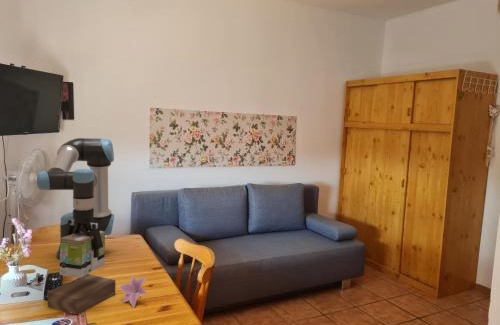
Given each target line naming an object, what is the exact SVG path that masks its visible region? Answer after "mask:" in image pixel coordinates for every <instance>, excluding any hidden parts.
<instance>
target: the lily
mask: <svg viewBox="0 0 500 325" xmlns="http://www.w3.org/2000/svg"><path fill="white" fill-rule="evenodd" d="M146 278H147V277H146V276H142V277H141V278H139V279H137V278H136V276H134V275H132V277H131V279H130V283H125V284H122V285H120V286H119V288H120V290H121V292H123V294H125V295H124V297H123V300H122V303H123V304H124V303H126V302H128V301H129V303H130V305H131V306H132V308H135V307H136V305H137V301H138V297H140V298H142V296H144V295H147V292H146V290H144V289H143V288H142V287H143V285H144V284H145V281H146Z"/></svg>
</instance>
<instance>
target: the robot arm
mask: <svg viewBox="0 0 500 325" xmlns="http://www.w3.org/2000/svg"><path fill="white" fill-rule="evenodd" d="M114 160H115V153H114V147H113V142H112V141H111V140H110V139H106V138H105V139H104V138H88V137H87V138H85V137H84V138H83V137H79V138H77V137H76V138H74V139H71V140H68V141H67V142H64V143H63V144H62V145H61V146H60V147H59V148H58V150H57V152H56V158H55V159H54V160H53V163H52V164H51V166H50V167H49V169H48V170H47V171H46V170H44V171H39V172H38V173H37V177H36V186H37V188H38V189H39V190H44V191H64V190H65V191H69V190H70V191H72V208H73V210H72V212H68V213H66V214H63V215H62V216H61V217H60V222H59V227H60V229H59V232H60V239H59V241H60V240H61V238H62V237H65V236H68V235H71V234H77V233H80V232H84V233H85V235H87V236H89V237H91V236H94V238H93V239H92V240H91V246H92V250H91V266H95V265H97V259H98V256H99V249H100V248H102V247H103V243H102V239H101V235H100V231H104V232H105V237H106V236H110V235H111V234H112V232H113V227H114V226H113V225H114V220H115V214H114V213H112V210H111V209H109V167H110V166H111V165H112V163H113V162H114ZM76 162H86V165H87V166H88V167H89V168H79V169H75V170H74V171H71V168H72V166H73V165H74V163H76ZM89 230H90V231H89ZM56 258H57V259H58V260H60V244H59V246H58V250H57V251H56Z"/></svg>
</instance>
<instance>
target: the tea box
mask: <svg viewBox="0 0 500 325" xmlns="http://www.w3.org/2000/svg"><path fill="white" fill-rule="evenodd" d="M89 231H90V230H89ZM100 235H101V239H102V243H103V247H102V248H100V249H99V256H98V259H97V265H95V266H91V250H92V246H91V240H92V239H93V238H94V236H91V237H89V236H87V235H85V233H84V232H80V233H77V234H71V235H68V236H65V237H62V238H61V240H60V239H59V243H60V244H59V245H60V259H59V276H64V277H70V278H76V279H78V278H82V277H83V276H85V275H87V274H90V273H92V272H94V271H96V270H97V269H100V268H101V267H104V266H105V253H106V250H105V249H106V236H105V232H104V231H100Z"/></svg>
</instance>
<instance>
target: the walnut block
mask: <svg viewBox="0 0 500 325" xmlns="http://www.w3.org/2000/svg"><path fill="white" fill-rule="evenodd" d="M114 295H116V280H115V279H112V278H108V277H103V276H98V275H94V274H90V273H88V274H87V275H85V276H83V277H82V278H76V279H74V280H71V281H69V282H66V283H65V284H63V285H60V286H57V287H55V288H53V289H51V290H49V291H47V308H50V309H54V310H58V311H61V312H65V313H68V312H72V313H75V314H78V315H80V314H82V313H84V312H86V311H88V310H89V309H91V308H93V307H94V306H96V305H98V304H100V303H102V302H103V301H106V300H107V299H109V298H111V297H112V296H114ZM81 312H82V313H81ZM72 313H71V314H72ZM79 313H80V314H79ZM75 314H74V315H75Z"/></svg>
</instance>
